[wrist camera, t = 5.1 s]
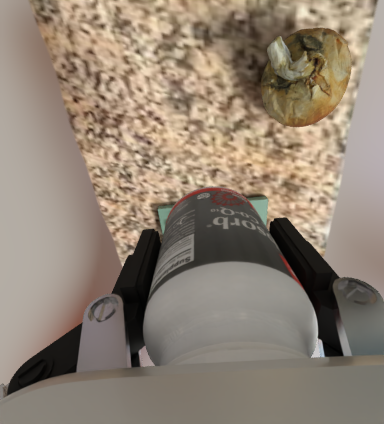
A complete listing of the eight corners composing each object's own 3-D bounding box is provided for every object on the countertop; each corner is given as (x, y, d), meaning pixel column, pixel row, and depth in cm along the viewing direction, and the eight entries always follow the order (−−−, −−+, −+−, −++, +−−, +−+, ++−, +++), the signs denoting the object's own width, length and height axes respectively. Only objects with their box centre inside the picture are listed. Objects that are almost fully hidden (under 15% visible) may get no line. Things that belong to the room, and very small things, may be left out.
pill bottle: (275, 216, 13) (466, 463, 4) (219, 272, 15) (259, 516, 6) (200, 163, 11) (232, 371, 2) (149, 235, 13) (67, 484, 5)
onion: (256, 132, 25) (282, 143, 18) (246, 53, 21) (273, 26, 14) (322, 114, 24) (377, 117, 17) (323, 27, 20) (393, -16, 13)
